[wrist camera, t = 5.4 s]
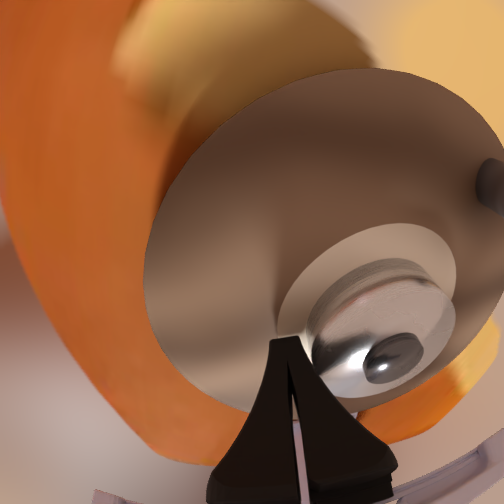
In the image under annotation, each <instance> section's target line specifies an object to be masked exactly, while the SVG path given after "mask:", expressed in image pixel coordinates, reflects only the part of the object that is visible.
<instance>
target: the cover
mask: <svg viewBox="0 0 504 504" xmlns="http://www.w3.org/2000/svg"><path fill="white" fill-rule="evenodd" d="M455 318H456V314H455V308H454V306H453V304H452V302H451V301H450V299H449V298H448V297H447V296H446V294H445V293H444V292H443V291H442V289H441V288H440V287H439V286H438V285H437V283H436V282H435V281H434V280H433V279H432V277H431V276H430V275H429V274H428V273H427V272H426V270H425V269H424V268H423V267H421V266H420V265H419V264H417V263H415V262H413V261H410V260H407V259H402V258H387V259H380V260H377V261H373V262H370V263H367V264H365V265H362V266H360V267H358V268H356V269H354V270H352V271H350V272H349V273H347V274H345V275H344V276H342V277H341V278H340V279H338V280H337V281H336V282H334V283H333V284H332V285H331V286H330V287H329V288H328V289H327V290H326V291H325V292H324V293H323V294H322V295H321V297H320V298H319V299H318V301H317V302H316V303H315V305H314V307H313V308H312V310H311V312H310V315H309V317H308V320H307V325H306V337H307V342H308V347H309V351H310V356H311V360H312V365H313V366H314V368H315V369H316V371H317V373H318V374H319V376H320V377H321V379H322V380H323V382H324V383H325V384H326V386H327V387H328V388H329V390H330V391H331V392H332V394H333V395H334V396H338V397H344V398H359V397H366V396H371V395H375V394H379V393H382V392H385V391H388V390H390V389H393V388H395V387H397V386H399V385H401V384H403V383H405V382H406V381H408V380H410V379H411V378H413V377H414V376H416V375H417V374H419V373H420V372H421V371H422V370H424V369H425V368H426V367H427V366H428V365H429V364H430V363H431V362H432V361H433V360H434V359H435V358H436V357H437V356H438V355H439V354H440V352H441V351H442V350H443V348H444V347H445V345H446V344H447V342H448V340H449V339H450V336H451V334H452V332H453V329H454V325H455Z"/></svg>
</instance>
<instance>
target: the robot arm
mask: <svg viewBox="0 0 504 504" xmlns="http://www.w3.org/2000/svg"><path fill="white" fill-rule="evenodd" d="M292 395H293V399H294V403H295V407H296V411H297V415H298V420H296V421H293V401H292ZM357 413H358V412H356V413H352V414H350V413H349V412H348V411H347V410H346V409H345V408H344V407H343V405H342V404H341V403H340V402H339V401H338V400H337V399H336V397H335V396H334V395H333V394H332V392H331V391H330V390H329V388H328V387H327V386H326V384H325V383H324V382H323V380H322V379H321V377H320V376H319V374H318V373H317V371H316V369H315V368H314V366H313V365H312V363H311V361H310V359H309V358H308V356H307V354H306V352H305V350H304V347H303V345H302V343H301V340H300V337H299V336H297V335H295V336H289V337H283V338H277V339H271V340H270V341H269V352H268V358H267V363H266V368H265V372H264V375H263V379H262V383H261V386H260V388H259V391H258V394H257V397H256V400H255V402H254V405H253V407H252V409H251V411H250V414H249V416H248V418H247V420H246V422H245V424H244V426H243V427H242V429H241V431H240V433H239V435H238V436H237V438H236V439H235V441H234V443H233V444H232V446H231V447H230V449H229V450H228V452H227V453H226V454H225V456H224V457H223V458H222V460H221V461H220V462H219V464H218V465H217V466H216V467H215V469H214V470H213V471H212V473H211V475H210V478H209V481H208V485H207V490H206V502H207V503H208V504H385V503H388V502H391V501H394V500H396V499H399V498H400V499H399V500H398V501H397V503H396V504H469V503H470V502H471V501H473V500H474V499H476V498H477V497H479V496H480V495H481V494H482V493H484V492H485V491H487V490H488V489H489V488H491V487H492V486H493V485H494V484H496V483H497V482H498V481H500V480H501V479H502V478H503V477H504V428H502V429H501V430H499V431H498V432H497V433H495V434H494V435H492V436H491V437H489V438H488V439H486V440H485V441H484V442H482V443H481V444H480V445H478V447H476V448H475V449H473V450H472V451H470V452H468V453H467V454H465V455H463V456H461V457H460V458H458V459H456V460H454V461H452V462H451V463H449V464H447V465H445V466H443V467H441V468H439V469H437V470H435V471H433V472H430V473H428V474H426V475H424V476H422V477H419V478H417V479H415V480H412V481H410V482H407V483H405V484H402V485H399V486H397V487H394V488H392V485H391V481H392V477H391V473H392V472H393V471H395V470H396V469H397V467H398V463H397V460H396V458H395V456H394V454H393V452H392V451H391V449H390V448H389V446H388V445H386V444H385V443H384V442H382V441H381V440H380V439H378V438H377V437H376V436H374V435H373V434H372V433H371V432H370V431H368V430H367V429H366V428H365V427H364V426H363V425H362V424H360V423H359V422H358V421H357V420H356V417H357ZM92 504H142V503H137V502H133V501H129V500H125V499H123V498H121V497H118V496H116V495H112V494H109V493H106V492H103V491H100V490H97V489H95V490H94V494H93V500H92Z"/></svg>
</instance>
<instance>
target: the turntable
mask: <svg viewBox="0 0 504 504" xmlns="http://www.w3.org/2000/svg"><path fill="white" fill-rule="evenodd" d="M387 258H402V259H407V260H410V261H413V262H415V263H417V264H419V265H420V266H421V267H423V268H424V269H425V270H426V272H427V273H428V274H429V275H430V276H431V277H432V279H433V280H434V281H435V282H436V283H437V285H438V286H439V287H440V288H441V289H442V291H443V292H444V293H445V294H446V296H447V297H448V298H449V299H450V301H451V302H452V304H453V306H454V308H455V314H456V318H455V325H454V329H453V332H452V334H451V336H450V339H449V340H448V342H447V344H446V345H445V347H444V348H443V350H442V351H441V352H440V354H439V355H438V356H437V357H436V358H435V359H434V360H433V361H432V362H431V363H430V364H429V365H428V366H427V367H426V368H425V369H424V370H422V371H421V372H420V373H419V374H417V375H416V376H414V377H413V378H411V379H410V380H408V381H406V382H405V383H403V384H401V385H399V386H397V387H395V388H393V389H390V390H388V391H385V392H382V393H379V394H375V395H371V396H366V397H359V398H344V397H338V396H335V397H336V399H337V400H338V401H339V402H340V403H341V404H342V405H343V407H344V408H345V409H346V410H347V411H348V412H349V413H350V414H352V413H356V412H360V411H363V410H366V409H370V408H373V407H376V406H378V405H381V404H383V403H386V402H388V401H391V400H393V399H395V398H397V397H399V396H401V395H403V394H405V393H407V392H409V391H411V390H412V389H414V388H416V387H418V386H419V385H421V384H422V383H424V382H425V381H427V380H428V379H430V378H431V377H433V376H434V375H436V374H437V373H438V372H439V371H441V370H442V369H443V368H444V367H446V366H447V365H448V364H449V363H450V362H451V361H452V360H454V359H455V358H456V357H457V356H458V355H459V354H460V353H461V352H462V351H463V350H464V349H465V348H466V347H467V346H468V344H469V343H470V342H471V341H472V340H473V339H474V338H475V336H476V335H477V334H478V332H479V331H480V330H481V328H482V327H483V326H484V324H485V323H486V322H487V320H488V318H489V317H490V315H491V314H492V312H493V310H494V309H495V307H496V305H497V303H498V301H499V299H500V297H501V295H502V293H503V291H504V148H503V146H502V144H501V143H500V141H499V139H498V137H497V135H496V134H495V133H494V131H493V130H492V129H491V127H490V126H489V125H488V123H487V122H486V121H485V120H484V119H483V117H482V116H481V115H480V114H479V113H478V112H477V111H476V110H475V109H474V108H472V107H471V106H470V105H469V104H468V103H467V102H466V101H465V100H463V99H462V98H461V97H459V96H458V95H456V94H454V93H453V92H451V91H450V90H448V89H446V88H445V87H443V86H441V85H439V84H438V83H435V82H432V81H430V80H427V79H424V78H422V77H419V76H416V75H413V74H410V73H405V72H400V71H392V70H386V69H379V68H363V69H345V70H336V71H331V72H327V73H323V74H319V75H315V76H311V77H307V78H304V79H300V80H297V81H295V82H292V83H290V84H288V85H286V86H284V87H281V88H279V89H277V90H275V91H273V92H271V93H269V94H267V95H265V96H263V97H261V98H259V99H257V100H255V101H254V102H252V103H251V104H250V105H248V106H247V107H245V108H244V109H242V110H241V111H240V112H238V113H237V114H235V115H234V116H233V117H231V118H230V119H229V120H227V121H226V122H225V123H223V124H222V125H221V126H220V127H219V128H218V129H217V130H216V131H215V132H214V133H213V134H212V135H211V136H210V137H209V138H208V139H207V140H206V141H205V142H204V143H203V144H202V145H201V146H200V147H199V148H198V149H197V150H196V151H195V152H194V153H193V154H192V155H191V157H190V158H189V160H188V161H187V162H186V164H185V165H184V167H183V168H182V170H181V171H180V172H179V174H178V175H177V177H176V178H175V180H174V181H173V183H172V184H171V186H170V187H169V189H168V191H167V193H166V195H165V197H164V199H163V202H162V204H161V206H160V208H159V210H158V213H157V215H156V217H155V219H154V222H153V225H152V229H151V232H150V236H149V240H148V244H147V248H146V252H145V262H144V276H143V287H144V296H145V305H146V310H147V314H148V317H149V321H150V324H151V327H152V330H153V332H154V335H155V337H156V339H157V341H158V343H159V345H160V347H161V349H162V350H163V352H164V353H165V355H166V356H167V357H168V359H169V360H170V362H171V363H172V364H173V366H174V367H175V368H176V369H177V370H178V371H179V372H180V373H181V374H182V375H183V376H184V377H185V378H186V379H187V380H188V381H189V382H191V383H192V384H193V385H194V386H196V387H197V388H198V389H199V390H201V391H202V392H204V393H205V394H207V395H209V396H210V397H212V398H214V399H216V400H217V401H220V402H222V403H224V404H226V405H228V406H231V407H233V408H236V409H239V410H242V411H245V412H248V413H250V411H251V409H252V407H253V405H254V402H255V400H256V397H257V394H258V391H259V388H260V386H261V383H262V379H263V375H264V372H265V368H266V363H267V358H268V352H269V341H270V340H271V339H277V338H283V337H289V336H295V335H297V336H299V337H300V340H301V343H302V345H303V347H304V350H305V352H306V354H307V356H308V358H309V359H310V361H311V363H312V360H311V356H310V351H309V347H308V342H307V337H306V325H307V320H308V317H309V315H310V312H311V310H312V308H313V307H314V305H315V303H316V302H317V301H318V299H319V298H320V297H321V295H322V294H323V293H324V292H325V291H326V290H327V289H328V288H329V287H330V286H331V285H332V284H333V283H334V282H336V281H337V280H338V279H340V278H341V277H342V276H344V275H345V274H347V273H349V272H350V271H352V270H354V269H356V268H358V267H360V266H362V265H365V264H367V263H370V262H373V261H377V260H380V259H387ZM292 401H293V420H298V415H297V411H296V407H295V403H294V399H293V395H292Z"/></svg>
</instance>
